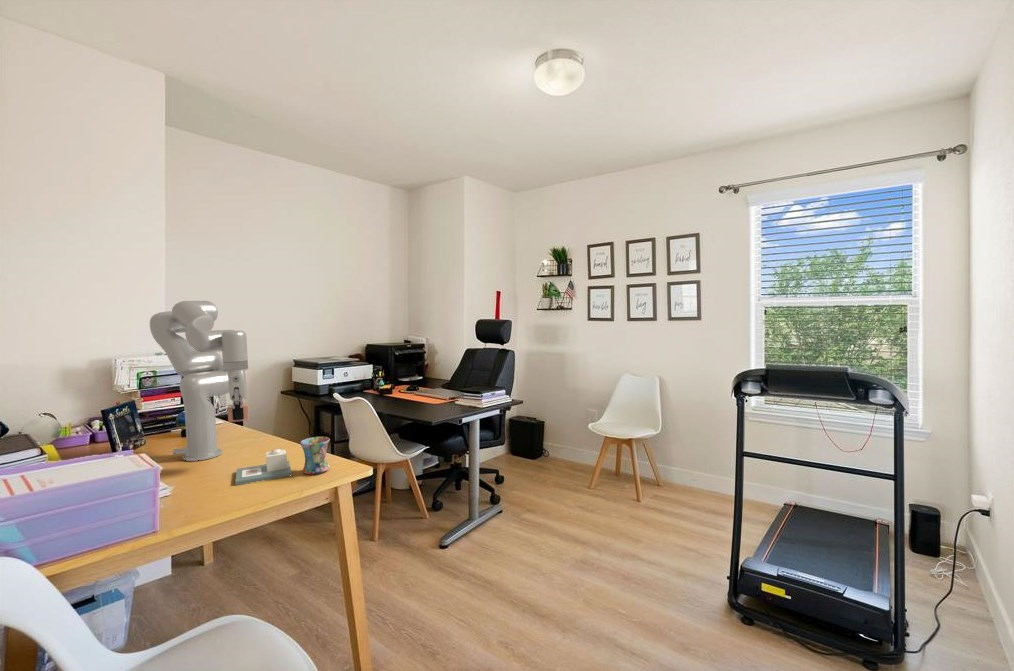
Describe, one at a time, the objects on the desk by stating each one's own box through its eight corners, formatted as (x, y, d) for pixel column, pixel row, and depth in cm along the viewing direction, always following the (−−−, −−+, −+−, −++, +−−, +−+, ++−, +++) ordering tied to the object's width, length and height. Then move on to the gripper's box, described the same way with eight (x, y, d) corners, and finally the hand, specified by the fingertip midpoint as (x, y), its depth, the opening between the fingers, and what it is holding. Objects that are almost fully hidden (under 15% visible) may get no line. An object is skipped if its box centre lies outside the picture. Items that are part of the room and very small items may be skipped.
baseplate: (235, 485, 148) (234, 462, 147) (236, 472, 160) (235, 451, 160) (291, 475, 155) (290, 454, 155) (288, 464, 168) (287, 444, 167)
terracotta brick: (228, 422, 161) (227, 407, 161) (229, 419, 166) (228, 404, 166) (248, 420, 164) (247, 405, 163) (248, 416, 169) (247, 402, 169)
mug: (297, 471, 160) (295, 440, 159) (324, 465, 166) (323, 435, 165) (310, 480, 151) (309, 447, 150) (339, 473, 157) (337, 441, 156)
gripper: (247, 367, 158) (250, 421, 159) (248, 363, 173) (251, 412, 174) (221, 369, 154) (224, 424, 155) (224, 364, 170) (227, 414, 171)
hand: (238, 417), depth 165 cm, fingers closed on terracotta brick, 6 cm apart
